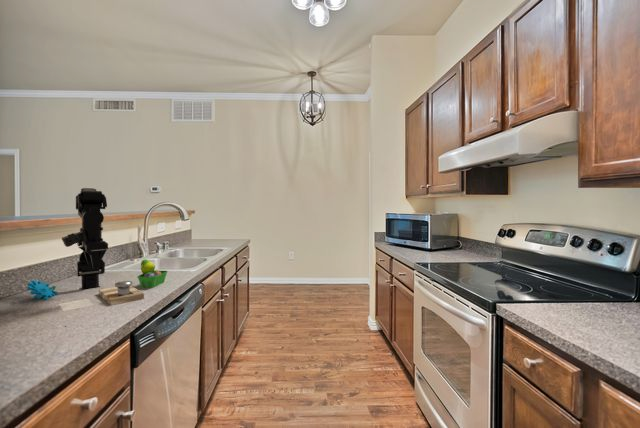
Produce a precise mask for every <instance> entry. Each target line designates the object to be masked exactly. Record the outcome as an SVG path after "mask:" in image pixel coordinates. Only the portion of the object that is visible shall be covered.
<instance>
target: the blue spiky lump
mask: <svg viewBox="0 0 640 428" xmlns="http://www.w3.org/2000/svg"><path fill="white" fill-rule="evenodd" d="M56 287H57V286H56V285H53V286H51V287H50V283H48V282H45V283H44V281H42V280H38V281H37V280H36V279H33V280H31V281H29V282H28V283H27V287H26V288H27V290H28V291H29V293H30V294H31V295H32V296H33V295H34V296H33V297H32V299H38V300H39V299H41V298H42V297H43V299H42V300H43V301H48V300H49V298H50V299H52V298H53V297H56V296H57V295H58V293H59V292H58V291H56V290H55V289H56Z"/></svg>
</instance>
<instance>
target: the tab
mask: <svg viewBox="0 0 640 428" xmlns="http://www.w3.org/2000/svg"><path fill="white" fill-rule="evenodd" d="M58 305H59V308H60V309H61V310H62V312H67V311H73V310H76V309H82V308H86V307H87V308H88V307H93V306H94V303H92V301H91V299H88V298H84V299H78V300H74V301H68V302H62V303H58Z"/></svg>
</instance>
